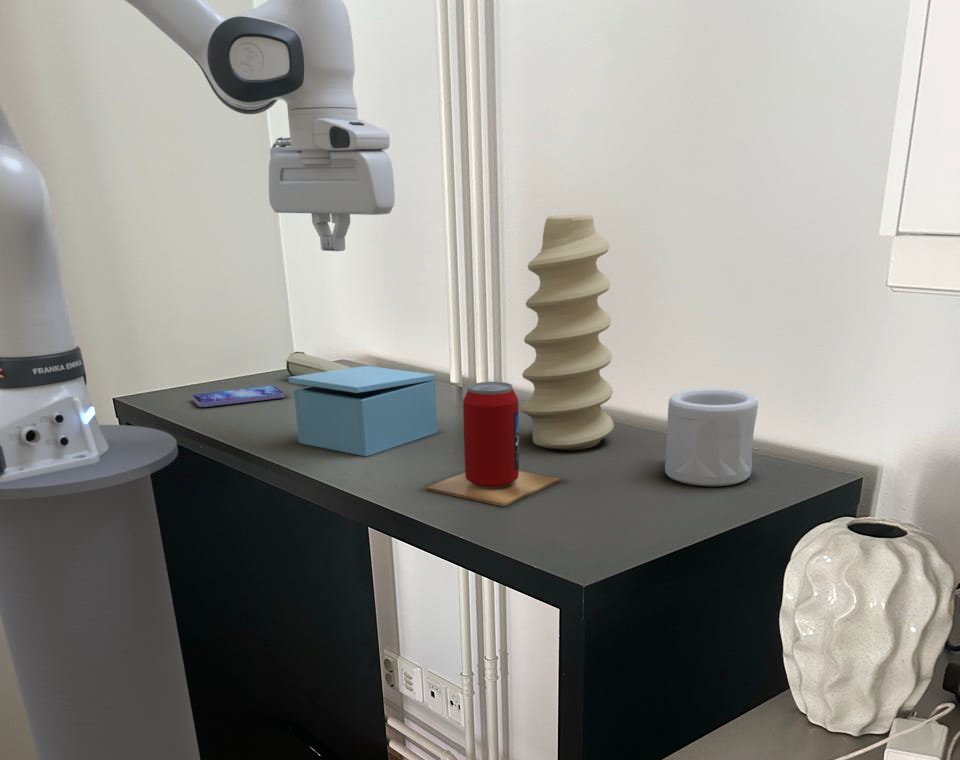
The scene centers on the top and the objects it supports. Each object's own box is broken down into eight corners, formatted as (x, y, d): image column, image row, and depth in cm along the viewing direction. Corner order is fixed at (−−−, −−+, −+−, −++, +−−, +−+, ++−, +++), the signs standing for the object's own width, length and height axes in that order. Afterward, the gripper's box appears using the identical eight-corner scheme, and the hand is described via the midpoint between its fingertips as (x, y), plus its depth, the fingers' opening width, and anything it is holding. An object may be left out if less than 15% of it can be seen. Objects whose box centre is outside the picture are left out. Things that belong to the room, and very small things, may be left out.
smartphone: (285, 393, 173) (199, 403, 168) (286, 398, 174) (200, 408, 168) (274, 384, 179) (190, 394, 174) (274, 389, 180) (191, 399, 174)
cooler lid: (357, 393, 134) (356, 387, 134) (288, 382, 142) (288, 376, 141) (435, 380, 146) (435, 374, 146) (367, 371, 154) (367, 365, 153)
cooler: (366, 456, 139) (361, 400, 135) (299, 443, 146) (293, 389, 143) (437, 432, 150) (435, 380, 146) (371, 421, 157) (368, 371, 154)
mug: (769, 478, 125) (777, 398, 120) (703, 493, 120) (709, 410, 116) (697, 454, 135) (702, 380, 131) (634, 467, 131) (637, 390, 126)
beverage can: (530, 481, 125) (530, 385, 119) (492, 494, 120) (490, 394, 115) (492, 471, 129) (490, 378, 124) (454, 483, 125) (450, 387, 120)
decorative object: (632, 443, 141) (642, 214, 128) (556, 458, 135) (558, 220, 122) (576, 425, 151) (579, 212, 138) (503, 438, 145) (499, 216, 132)
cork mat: (503, 506, 117) (503, 503, 117) (426, 490, 124) (426, 486, 124) (559, 481, 126) (559, 478, 125) (484, 467, 132) (484, 464, 132)
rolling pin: (385, 401, 170) (383, 371, 168) (356, 405, 167) (354, 375, 165) (304, 373, 194) (302, 347, 192) (278, 377, 191) (275, 350, 189)
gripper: (251, 137, 131) (263, 249, 137) (364, 132, 120) (371, 255, 126) (287, 137, 135) (297, 246, 141) (399, 133, 124) (404, 251, 130)
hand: (333, 250), depth 133 cm, fingers closed
